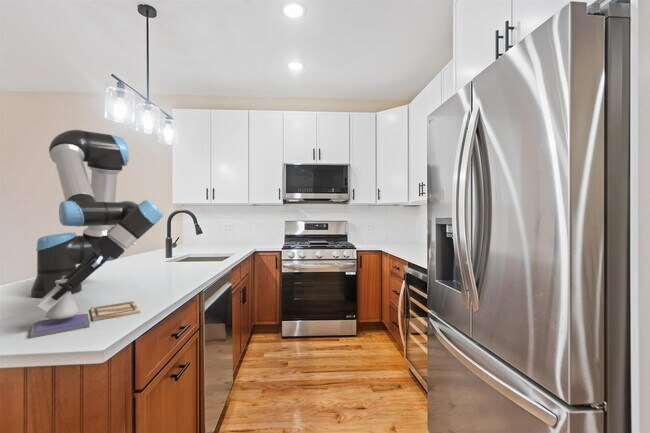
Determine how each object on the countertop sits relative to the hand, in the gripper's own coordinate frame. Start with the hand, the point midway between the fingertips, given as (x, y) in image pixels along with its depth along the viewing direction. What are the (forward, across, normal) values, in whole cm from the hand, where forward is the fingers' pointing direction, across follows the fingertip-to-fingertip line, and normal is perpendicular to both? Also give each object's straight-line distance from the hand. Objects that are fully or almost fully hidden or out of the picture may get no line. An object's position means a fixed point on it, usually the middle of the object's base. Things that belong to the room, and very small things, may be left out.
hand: (43, 306), depth 84 cm
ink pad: (+2, 0, -7) cm, 7 cm away
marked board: (-7, +6, -16) cm, 19 cm away
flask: (0, 0, -6) cm, 6 cm away
